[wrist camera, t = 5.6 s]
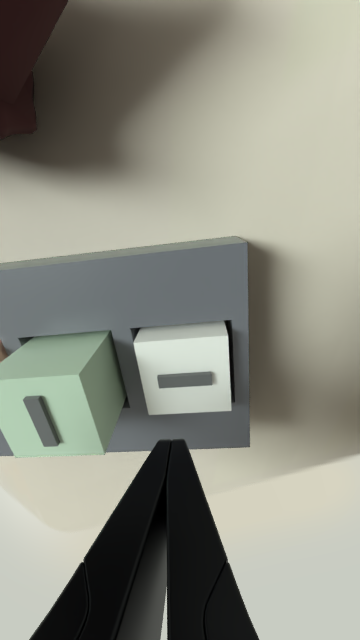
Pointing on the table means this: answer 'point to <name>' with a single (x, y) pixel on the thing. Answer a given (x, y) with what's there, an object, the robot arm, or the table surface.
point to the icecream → (22, 58)
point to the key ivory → (184, 367)
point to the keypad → (140, 323)
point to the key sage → (61, 395)
